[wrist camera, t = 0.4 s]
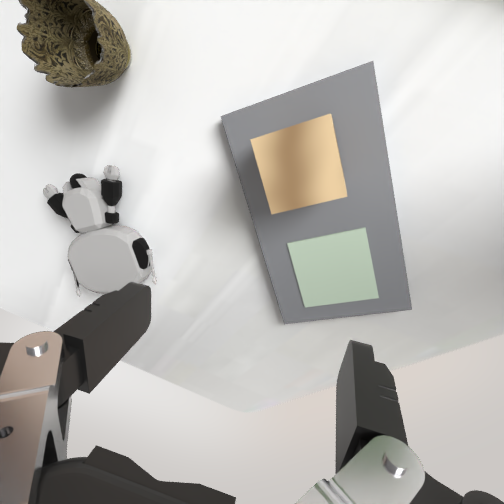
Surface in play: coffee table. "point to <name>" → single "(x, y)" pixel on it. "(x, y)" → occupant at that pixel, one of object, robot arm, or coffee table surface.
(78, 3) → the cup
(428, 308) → the coffee table surface
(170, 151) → the coffee table surface
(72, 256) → the robot toy
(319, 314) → the post board
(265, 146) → the cardboard box
